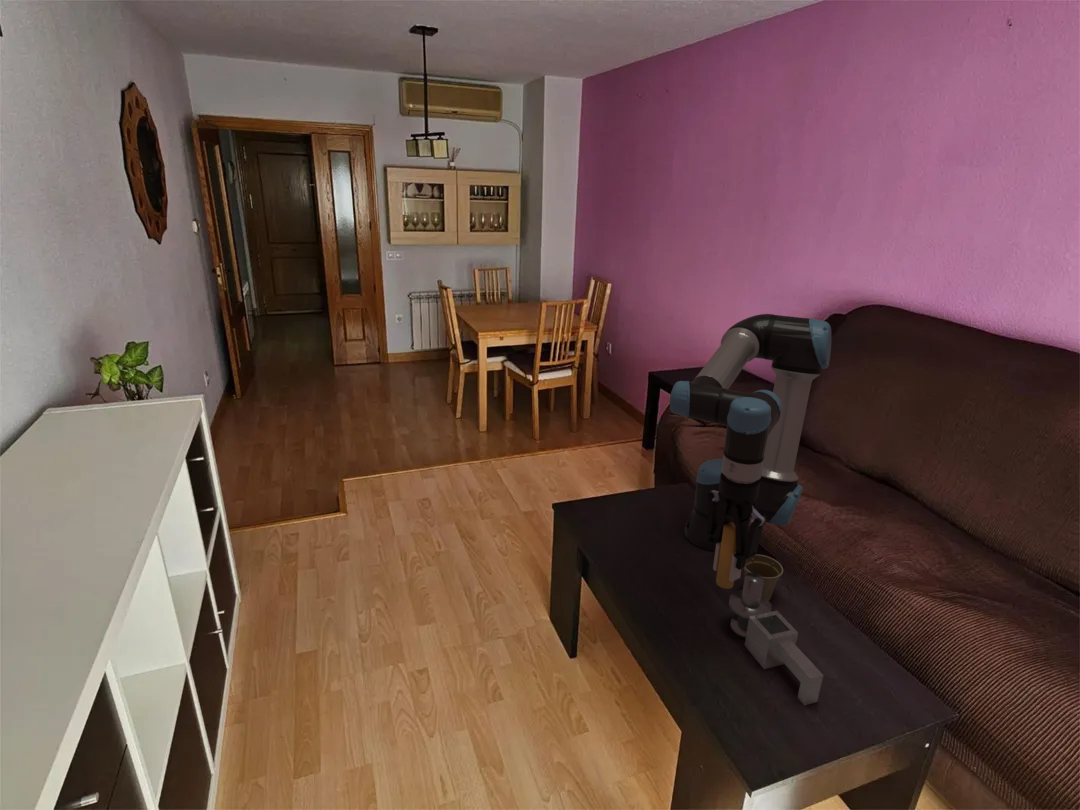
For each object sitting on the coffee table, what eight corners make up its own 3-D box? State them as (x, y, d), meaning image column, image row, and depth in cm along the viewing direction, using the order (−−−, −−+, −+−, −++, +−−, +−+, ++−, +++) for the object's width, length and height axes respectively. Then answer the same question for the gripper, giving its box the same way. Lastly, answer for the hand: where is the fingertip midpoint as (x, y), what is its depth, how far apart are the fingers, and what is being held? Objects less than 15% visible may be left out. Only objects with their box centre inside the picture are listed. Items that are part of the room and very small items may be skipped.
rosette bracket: (829, 698, 117) (843, 643, 111) (791, 709, 114) (803, 653, 109) (751, 611, 140) (759, 562, 135) (718, 618, 138) (725, 569, 132)
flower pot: (744, 577, 152) (749, 549, 148) (782, 591, 147) (787, 562, 143) (732, 597, 144) (737, 568, 141) (771, 612, 139) (777, 583, 136)
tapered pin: (720, 575, 127) (728, 520, 122) (736, 582, 125) (745, 526, 120) (712, 583, 125) (720, 527, 120) (728, 591, 123) (737, 534, 117)
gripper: (695, 463, 120) (684, 558, 129) (763, 499, 107) (746, 602, 116) (720, 454, 124) (708, 548, 132) (789, 488, 111) (771, 588, 119)
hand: (726, 573), depth 124 cm, fingers closed on tapered pin, 3 cm apart
